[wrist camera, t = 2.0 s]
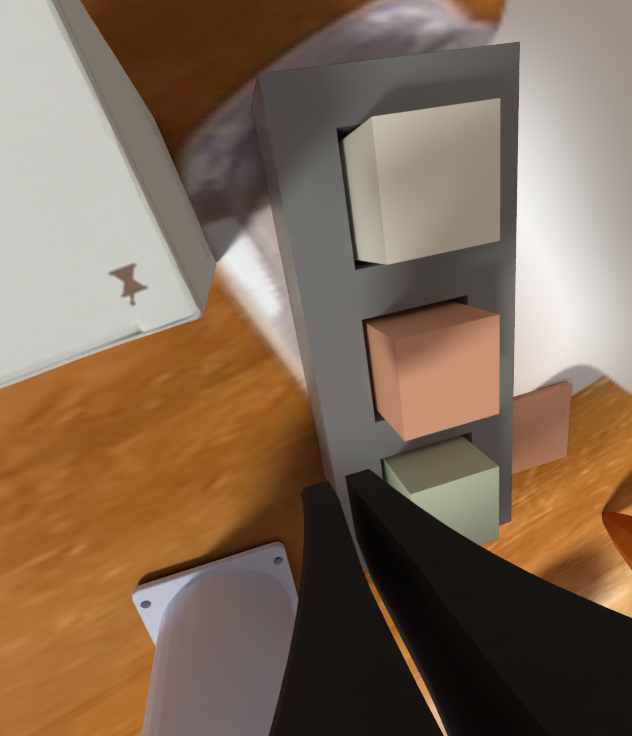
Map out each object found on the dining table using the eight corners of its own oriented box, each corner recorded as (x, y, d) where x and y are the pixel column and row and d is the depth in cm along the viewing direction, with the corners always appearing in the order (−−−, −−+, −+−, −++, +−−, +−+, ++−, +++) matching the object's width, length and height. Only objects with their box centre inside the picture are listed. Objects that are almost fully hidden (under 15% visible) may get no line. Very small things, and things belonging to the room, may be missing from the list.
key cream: (442, 240, 16) (499, 240, 12) (351, 258, 15) (386, 264, 12) (437, 129, 14) (500, 97, 11) (336, 145, 14) (371, 116, 10)
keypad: (476, 487, 23) (510, 521, 20) (336, 532, 22) (353, 576, 19) (466, 76, 16) (520, 41, 13) (250, 105, 14) (258, 73, 11)
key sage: (454, 491, 20) (498, 539, 17) (385, 513, 20) (417, 567, 17) (451, 427, 19) (499, 466, 16) (377, 449, 18) (410, 494, 15)
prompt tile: (561, 453, 24) (566, 456, 24) (505, 471, 23) (509, 475, 23) (566, 381, 22) (572, 384, 22) (506, 399, 21) (511, 401, 21)
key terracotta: (449, 381, 18) (499, 413, 15) (370, 403, 17) (404, 441, 14) (445, 299, 17) (499, 314, 13) (359, 319, 16) (394, 340, 13)
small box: (155, 116, 14) (-4, -177, 4) (219, 267, 16) (217, 316, 6) (-73, 189, 13) (-972, 46, 3) (26, 338, 15) (-329, 525, 5)
